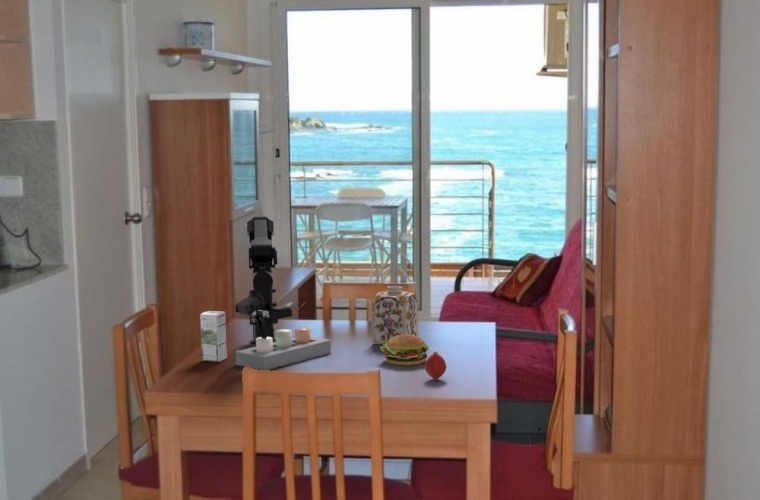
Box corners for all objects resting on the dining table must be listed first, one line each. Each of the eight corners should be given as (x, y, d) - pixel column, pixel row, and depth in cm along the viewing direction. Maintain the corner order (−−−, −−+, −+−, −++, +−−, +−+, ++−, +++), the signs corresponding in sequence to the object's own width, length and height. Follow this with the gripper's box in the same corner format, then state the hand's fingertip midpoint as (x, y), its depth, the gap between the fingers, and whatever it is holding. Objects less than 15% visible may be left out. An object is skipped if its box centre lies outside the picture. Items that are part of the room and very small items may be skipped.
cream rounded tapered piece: (253, 360, 301) (252, 338, 300) (265, 357, 304) (264, 335, 304) (264, 362, 298) (263, 340, 297) (276, 359, 301) (275, 337, 301)
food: (373, 359, 305) (372, 333, 304) (415, 354, 311) (415, 328, 310) (392, 369, 293) (391, 342, 292) (436, 364, 298) (435, 337, 297)
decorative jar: (371, 344, 325) (370, 288, 323) (385, 337, 336) (384, 283, 333) (406, 347, 321) (406, 290, 318) (419, 339, 331) (418, 284, 329)
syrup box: (227, 358, 309) (226, 310, 307) (218, 362, 304) (216, 314, 302) (210, 356, 311) (209, 309, 309) (201, 361, 306) (199, 313, 304)
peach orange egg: (292, 350, 313) (291, 329, 312) (303, 347, 317) (302, 326, 316) (303, 352, 310) (302, 331, 309) (314, 349, 313) (313, 328, 313)
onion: (423, 377, 283) (423, 349, 282) (444, 376, 284) (444, 348, 282) (426, 382, 277) (426, 353, 276) (447, 382, 278) (447, 353, 277)
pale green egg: (272, 352, 307) (272, 331, 306) (284, 349, 310) (283, 328, 310) (284, 354, 304) (283, 333, 303) (295, 351, 307) (295, 330, 306)
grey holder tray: (235, 364, 301) (235, 351, 300) (303, 347, 322) (302, 335, 321) (264, 370, 293) (263, 357, 292) (330, 352, 314) (330, 340, 313)
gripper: (220, 286, 298) (222, 339, 300) (264, 293, 286) (266, 347, 288) (248, 281, 307) (250, 332, 309) (292, 287, 295) (294, 340, 297)
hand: (264, 338), depth 300 cm, fingers closed, pressing on cream rounded tapered piece
